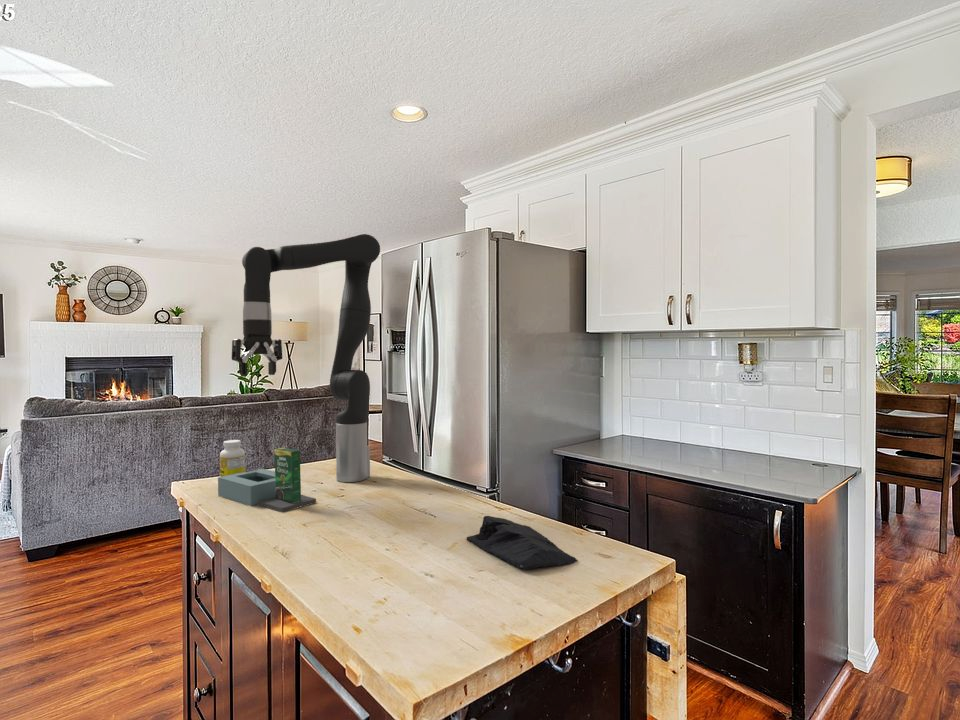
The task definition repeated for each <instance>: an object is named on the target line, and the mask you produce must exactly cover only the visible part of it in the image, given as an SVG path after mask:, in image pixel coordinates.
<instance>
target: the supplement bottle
mask: <svg viewBox="0 0 960 720" xmlns="http://www.w3.org/2000/svg"><path fill="white" fill-rule="evenodd" d="M222 445H223V450H221V452H220V453H219V477H222V476H227V475H232V474H237V473H242V472H246V465H245V464H246V463H245V462H246V460H245V459H246V453H245V450H244V449H243V448H241V445H242V440H240V439H230V440H224V441H223V444H222Z"/></svg>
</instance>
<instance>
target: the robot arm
mask: <svg viewBox="0 0 960 720" xmlns="http://www.w3.org/2000/svg"><path fill="white" fill-rule="evenodd" d="M380 253H381V245H380V242H379V241H378V240H377V238H375V237H374V236H372V235H371V234H367V233H364V234H363V233H362V234H357V235H355V236H350V237H347V238H346V237H345V238H343V239H337V240H332V241H324V242H316V243H315V242H313V243H304V244H291V245H290V244H289V245H282V246H279V247H277V248H271V249H270V248H269V249H265V248H263V247H262V246H253V247H250V248H249V249H248V250H246V252H245V253H244V254H243V257H242V260H241V264H242V267H243V269H244V275H245V276H244V277H245V279H244V280H245V282H244V284H243V306H242V307H243V308H242V332H243V333H242V334H243V339H240V338H233V339H232V340H231V360H232V361H234V362H237V363H238V372H239V375H240V376H241V377H248V362H247V361H248V360H249V359H250V358H251V357H252V356H253V355H263V356H264V357H265V358H266V359H267V360H268V362H267V363H268V368H267V369H268V371H267V372H268V375H269V376H274V375H275V374H276V373H277V362H278V361H280V360H283V345H282V340H281V339H279V338H278V339H277V338H275V339H272V332H273V330H272V325H273V324H272V306H271V288H270V287H271V286H270V283H271V274H272V273H275V272H281V271H293V270H303V269H310V268H314V267H318V266H322V265H327V264H332V263H335V262H345V265H344V266H345V268H344V269H345V271H344V273H345V274H344V275H345V276H344V277H345V278H344V285H343V291H342V297H341V304H340V310H339V311H340V312H339V319H338V331H337V332H338V333H337V339H336V348H335V352H334V353H335V354H334V358H333V362H332V367H331V374H330V379H329V391H330V394H331V396H332V397H333V398H334V399H336V400H343V401H348V402H347V407H346V408H345V409H344V410H343V411H339V412H337V413H336V415H335V448H336V450H335V457H336V459H335V462H336V464H335V465H336V470H335V471H336V478H335V479H336V481H337V482H341V483H342V482H343V483H355V482H356V483H357V482H362V481H365V480H367V479H368V478H371V450H370V449H371V448H370V445H368V416H369V412H370V398H371V397H370V396H371V382H370V377H369V375H368V373H367V372H366V371H365V370H361V369H352V366H353V361H354V356H355V354H356V352H357V350H358V348H360V346H361V344H362V342H363V341H364V340H365V338H366V337H367V334H368V332H369V329H370V325H371V323H370V322H371V313H372V307H371V297H370V293H369V276H370V271H371V267H372V264H373V263H374V262H375V261H376V260H377V259H378V257H379V255H380ZM271 346H272V348H273V350H272V348H271ZM242 347H244V349H243V350H242ZM241 350H242V351H241Z"/></svg>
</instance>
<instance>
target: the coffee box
mask: <svg viewBox="0 0 960 720" xmlns="http://www.w3.org/2000/svg"><path fill="white" fill-rule="evenodd" d="M273 455H274V471H275V484H276V498H277V499H280V500H284V501H287V502H290V503H296V502H300V501H301V495H302V490H301V489H302V485H301V484H302V483H301V481H302V480H301V450H300V449H295V448H288V447H278V448H274V454H273Z"/></svg>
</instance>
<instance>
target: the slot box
mask: <svg viewBox="0 0 960 720" xmlns="http://www.w3.org/2000/svg"><path fill="white" fill-rule="evenodd" d="M217 490H218V491H217V496H218V497H221V498H224V499H228V500H230V501H232V502H236V503H239V504H240V503H241V504H244V505H246V504H247V506H249V505H250V507H252V506H256V505H259V504H258V501H262V500H266V499H269V498H273V497H276V484H275V470H271V469H266V468H258V469H254V470H249V471H245V472H242V473H237V474H232V475H227V476H222V477H220V476H218V477H217Z"/></svg>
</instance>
